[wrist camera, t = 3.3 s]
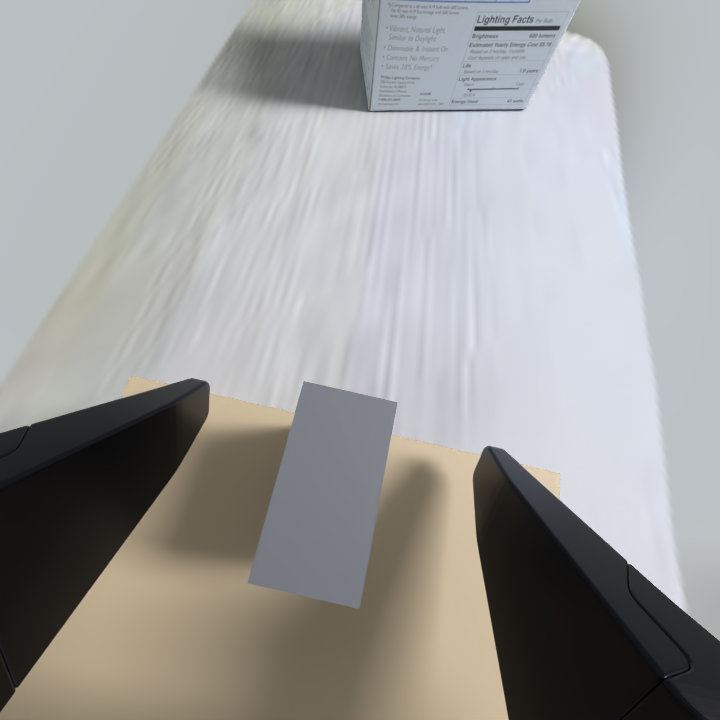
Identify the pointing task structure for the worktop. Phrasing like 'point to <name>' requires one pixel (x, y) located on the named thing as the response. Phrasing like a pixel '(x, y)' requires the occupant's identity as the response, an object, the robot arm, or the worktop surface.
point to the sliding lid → (288, 581)
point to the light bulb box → (458, 51)
